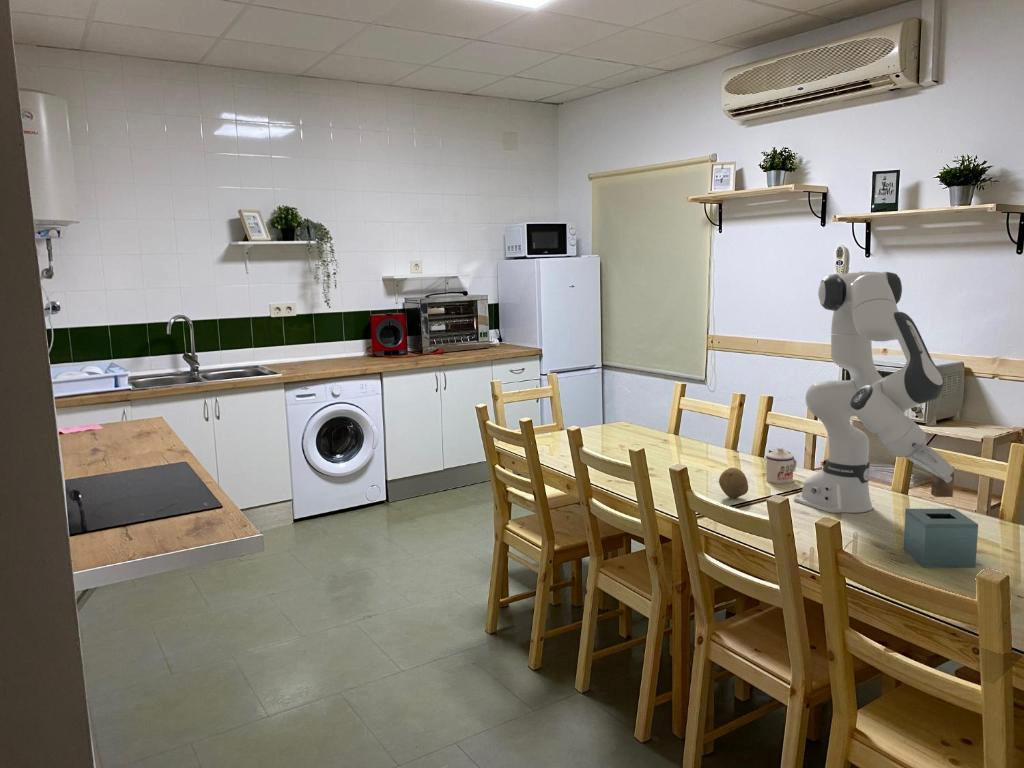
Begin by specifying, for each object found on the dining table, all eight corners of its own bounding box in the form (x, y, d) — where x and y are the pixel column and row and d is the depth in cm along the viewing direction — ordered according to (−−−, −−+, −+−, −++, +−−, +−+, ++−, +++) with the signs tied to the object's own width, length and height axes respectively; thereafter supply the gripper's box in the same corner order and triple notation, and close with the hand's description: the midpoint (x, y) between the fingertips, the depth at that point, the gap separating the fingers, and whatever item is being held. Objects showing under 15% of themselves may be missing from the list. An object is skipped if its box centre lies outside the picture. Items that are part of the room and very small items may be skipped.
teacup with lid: (779, 486, 257) (780, 452, 255) (759, 479, 265) (760, 447, 263) (805, 480, 262) (806, 447, 260) (785, 474, 270) (786, 442, 268)
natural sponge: (717, 493, 250) (717, 464, 249) (745, 494, 249) (746, 464, 247) (720, 501, 242) (720, 471, 240) (749, 502, 240) (749, 471, 239)
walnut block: (935, 497, 187) (937, 467, 186) (931, 494, 190) (932, 464, 189) (952, 497, 187) (954, 467, 186) (947, 494, 190) (949, 464, 188)
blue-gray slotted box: (923, 567, 186) (925, 524, 184) (903, 549, 198) (905, 508, 196) (975, 567, 184) (978, 524, 183) (952, 549, 196) (954, 508, 195)
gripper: (934, 440, 177) (976, 480, 177) (899, 422, 197) (936, 459, 197) (913, 459, 178) (955, 499, 178) (880, 439, 198) (918, 476, 198)
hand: (945, 478), depth 188 cm, fingers closed on walnut block, 2 cm apart
